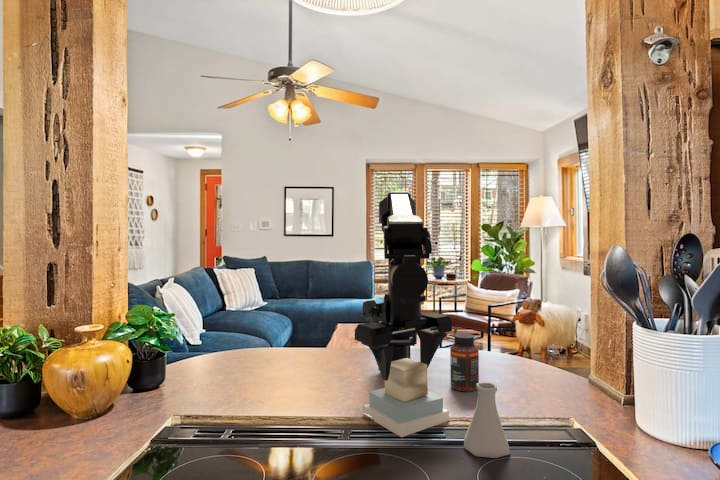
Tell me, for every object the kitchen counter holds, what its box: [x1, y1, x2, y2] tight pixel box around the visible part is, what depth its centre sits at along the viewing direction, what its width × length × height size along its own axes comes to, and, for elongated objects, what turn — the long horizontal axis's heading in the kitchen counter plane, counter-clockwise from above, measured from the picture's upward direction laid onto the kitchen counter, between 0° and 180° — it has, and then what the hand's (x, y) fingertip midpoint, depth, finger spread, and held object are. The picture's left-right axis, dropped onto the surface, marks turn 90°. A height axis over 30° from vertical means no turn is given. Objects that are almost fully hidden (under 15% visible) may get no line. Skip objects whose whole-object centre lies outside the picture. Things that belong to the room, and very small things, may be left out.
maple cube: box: [384, 358, 429, 402], centre depth 83 cm, size 6×6×6 cm
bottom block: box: [362, 403, 450, 438], centre depth 83 cm, size 11×11×2 cm
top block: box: [368, 387, 444, 424], centre depth 83 cm, size 10×10×2 cm
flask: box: [463, 381, 511, 459], centre depth 72 cm, size 7×7×10 cm
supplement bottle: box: [449, 332, 480, 392], centre depth 98 cm, size 6×6×11 cm
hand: (405, 374), depth 83 cm, fingers open, 9 cm apart
